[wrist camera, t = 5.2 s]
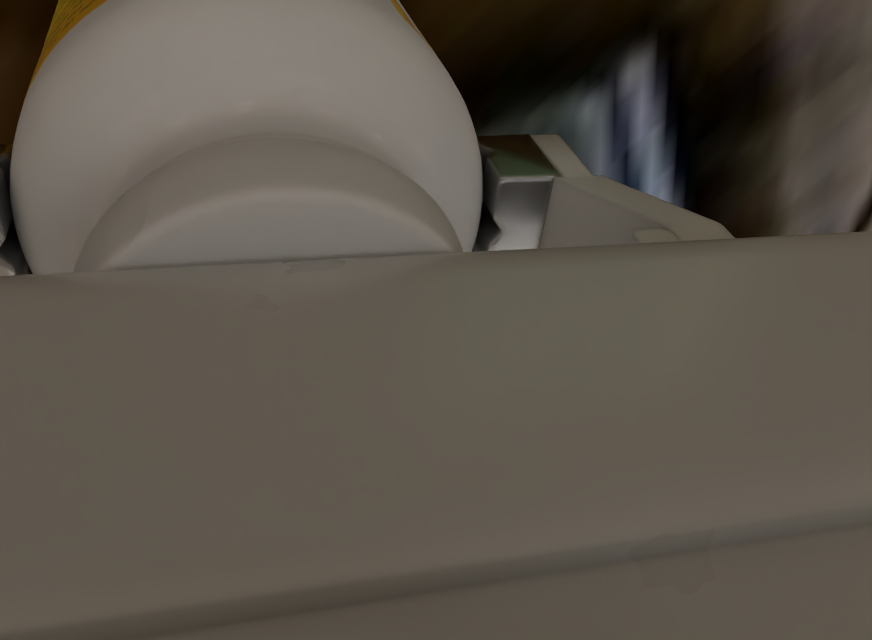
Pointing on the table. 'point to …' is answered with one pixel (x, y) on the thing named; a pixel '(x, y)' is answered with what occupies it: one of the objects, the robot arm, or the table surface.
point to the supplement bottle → (240, 137)
